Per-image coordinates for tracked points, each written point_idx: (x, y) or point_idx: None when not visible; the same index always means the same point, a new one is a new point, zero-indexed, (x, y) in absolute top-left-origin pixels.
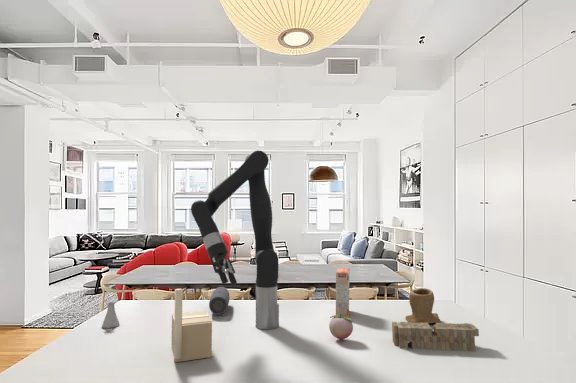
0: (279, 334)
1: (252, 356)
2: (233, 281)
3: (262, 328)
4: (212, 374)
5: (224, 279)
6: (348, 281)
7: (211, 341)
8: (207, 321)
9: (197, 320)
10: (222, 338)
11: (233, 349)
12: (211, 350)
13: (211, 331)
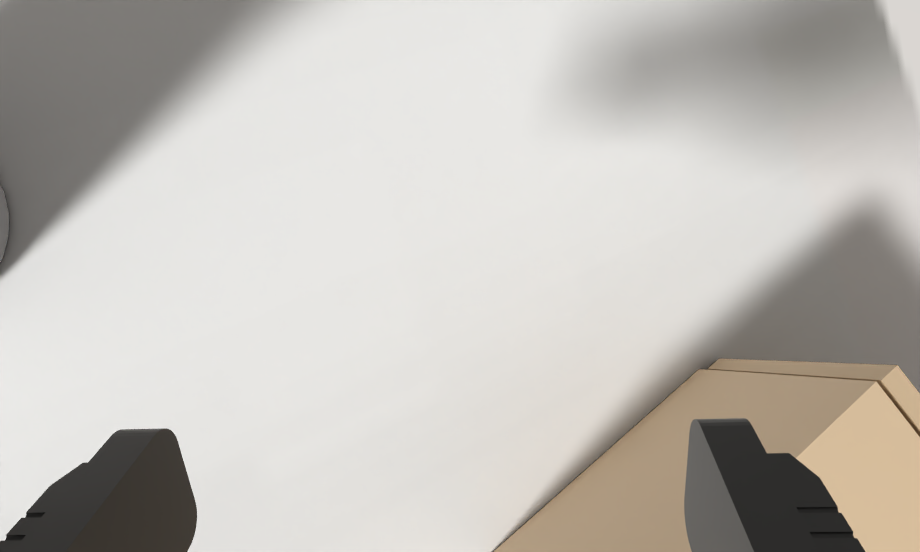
0: (109, 50)
1: (612, 109)
2: (151, 511)
3: (6, 229)
4: (914, 235)
5: (819, 492)
6: None
7: (782, 363)
8: (903, 417)
9: (912, 537)
10: (341, 475)
11: (538, 281)
12: (743, 361)
13: (837, 365)
